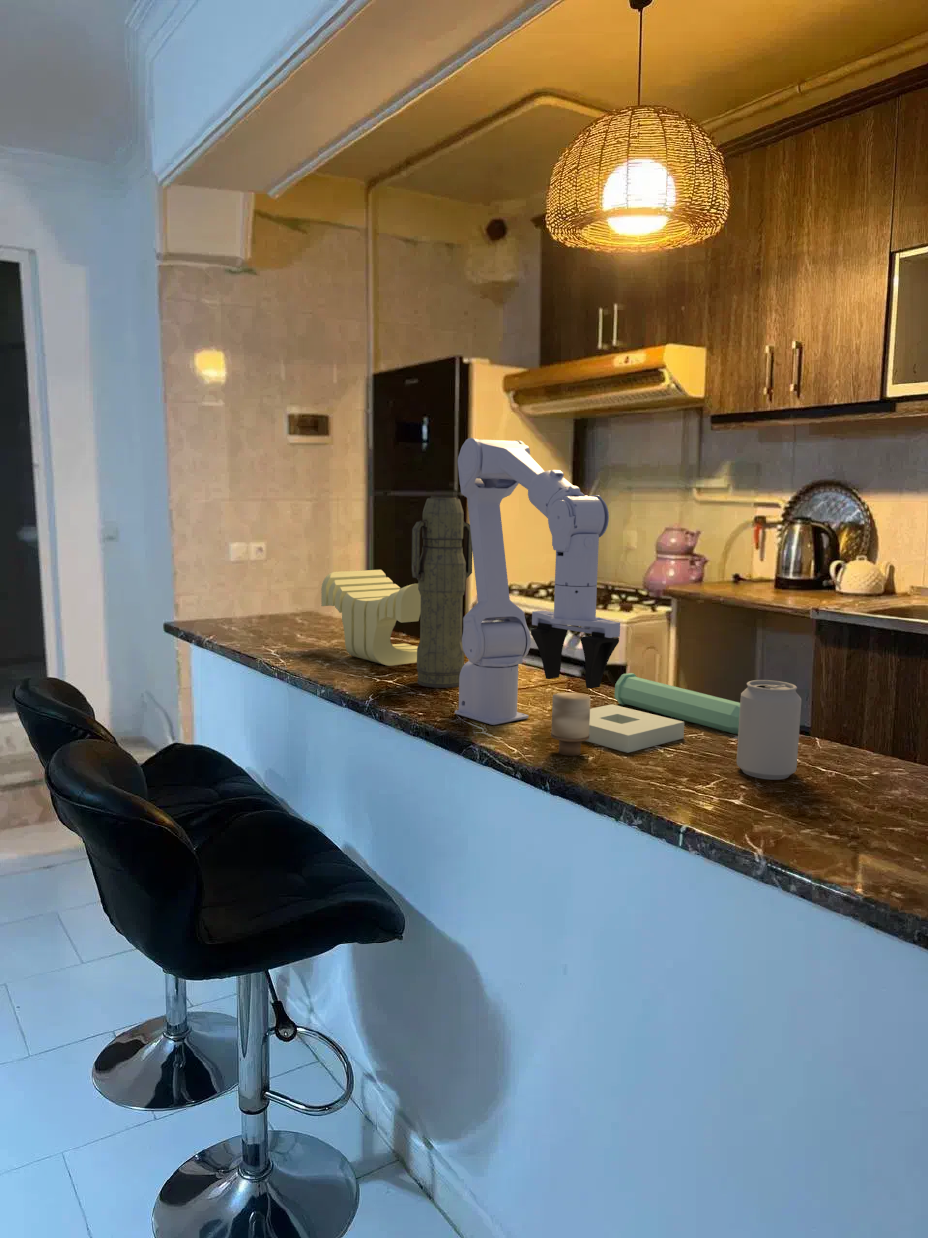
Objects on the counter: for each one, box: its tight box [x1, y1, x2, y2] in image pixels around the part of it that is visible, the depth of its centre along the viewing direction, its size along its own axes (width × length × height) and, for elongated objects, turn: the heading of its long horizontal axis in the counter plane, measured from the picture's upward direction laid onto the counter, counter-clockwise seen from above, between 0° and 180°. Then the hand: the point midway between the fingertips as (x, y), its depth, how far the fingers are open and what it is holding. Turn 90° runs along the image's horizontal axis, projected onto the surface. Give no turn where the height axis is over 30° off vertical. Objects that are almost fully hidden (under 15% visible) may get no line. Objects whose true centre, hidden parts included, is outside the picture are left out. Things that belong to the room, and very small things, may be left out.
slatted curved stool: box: [320, 569, 421, 667], centre depth 195 cm, size 30×16×18 cm, turn 40°
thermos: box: [411, 495, 473, 689], centre depth 170 cm, size 9×12×35 cm
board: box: [584, 704, 685, 754], centre depth 137 cm, size 14×13×2 cm
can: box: [736, 679, 802, 781], centre depth 119 cm, size 8×8×12 cm
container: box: [614, 672, 740, 735], centre depth 148 cm, size 6×6×25 cm
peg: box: [550, 692, 591, 757], centre depth 127 cm, size 5×5×8 cm
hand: (572, 682), depth 126 cm, fingers open, 7 cm apart
